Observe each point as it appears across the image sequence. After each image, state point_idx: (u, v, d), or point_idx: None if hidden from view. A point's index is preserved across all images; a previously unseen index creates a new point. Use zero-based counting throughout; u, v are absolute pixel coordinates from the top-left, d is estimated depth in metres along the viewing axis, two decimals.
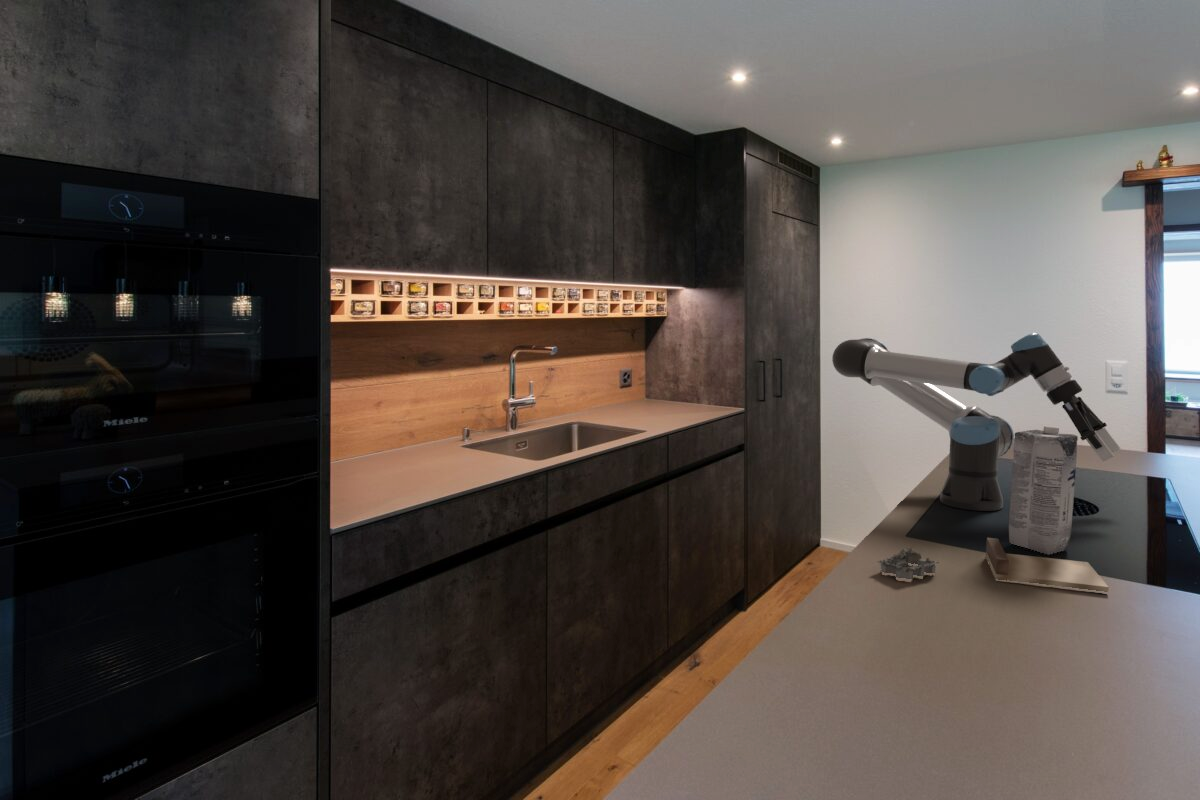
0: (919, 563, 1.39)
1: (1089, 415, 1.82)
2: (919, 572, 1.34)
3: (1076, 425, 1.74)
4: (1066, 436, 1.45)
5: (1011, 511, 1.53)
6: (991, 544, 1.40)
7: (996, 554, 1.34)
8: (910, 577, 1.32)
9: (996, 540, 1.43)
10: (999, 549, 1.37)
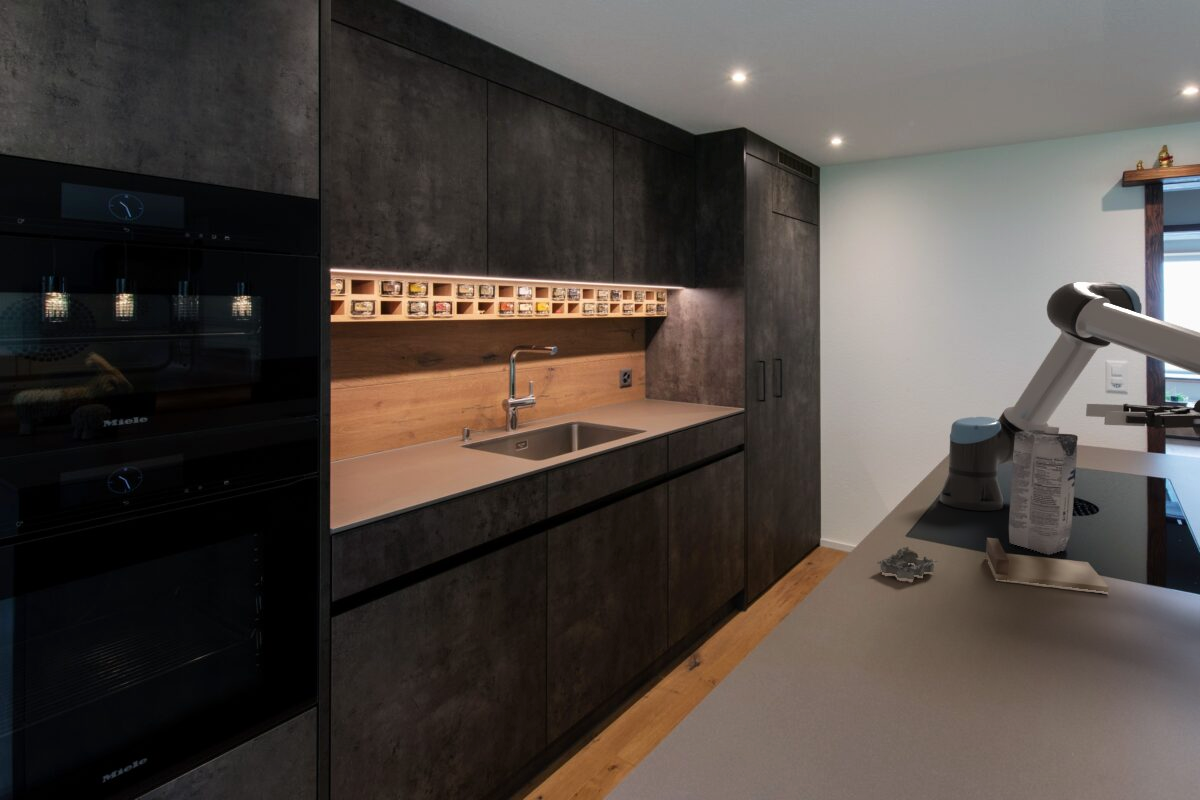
0: (916, 562, 1.39)
1: None
2: (918, 572, 1.34)
3: (1174, 417, 1.33)
4: (1066, 436, 1.45)
5: (1011, 511, 1.53)
6: (991, 544, 1.40)
7: (996, 554, 1.34)
8: (911, 577, 1.32)
9: (996, 540, 1.43)
10: (999, 549, 1.37)
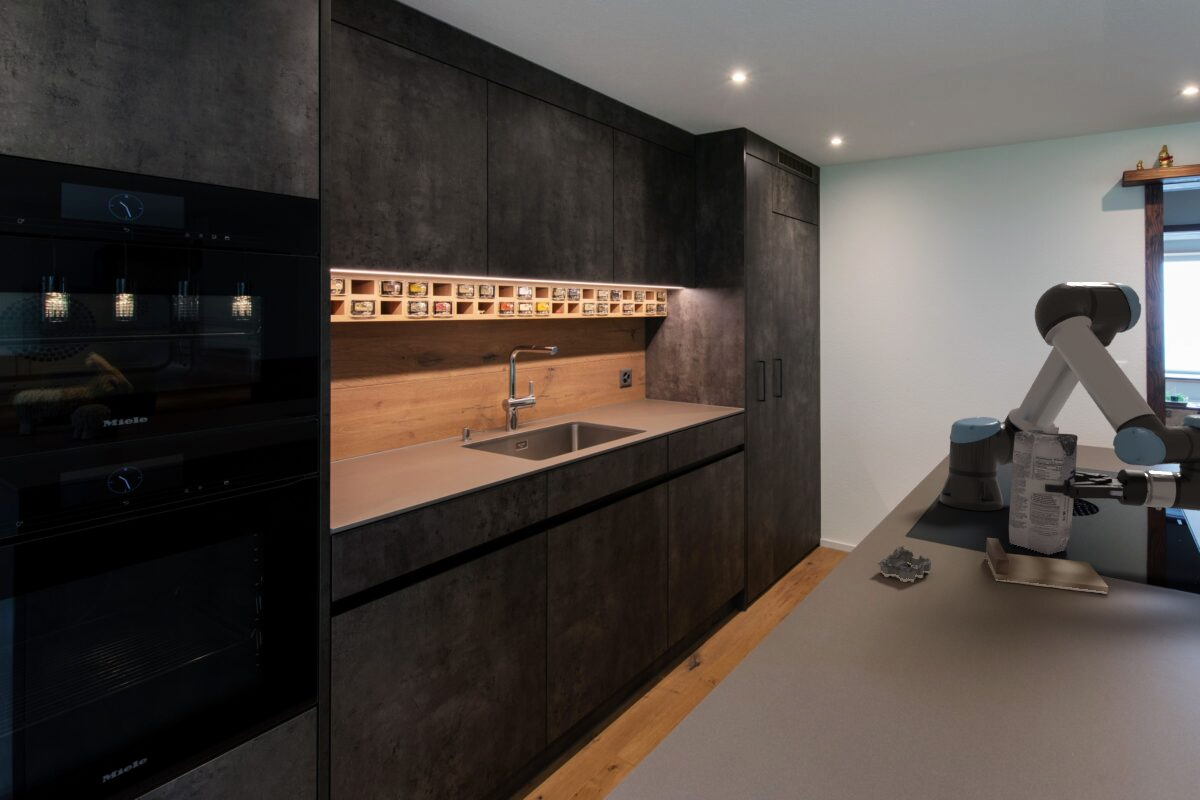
0: (913, 561, 1.40)
1: None
2: (919, 571, 1.35)
3: (1089, 488, 1.40)
4: (1066, 436, 1.45)
5: (1011, 511, 1.53)
6: (991, 544, 1.40)
7: (996, 554, 1.34)
8: (914, 577, 1.32)
9: (996, 540, 1.43)
10: (999, 549, 1.37)
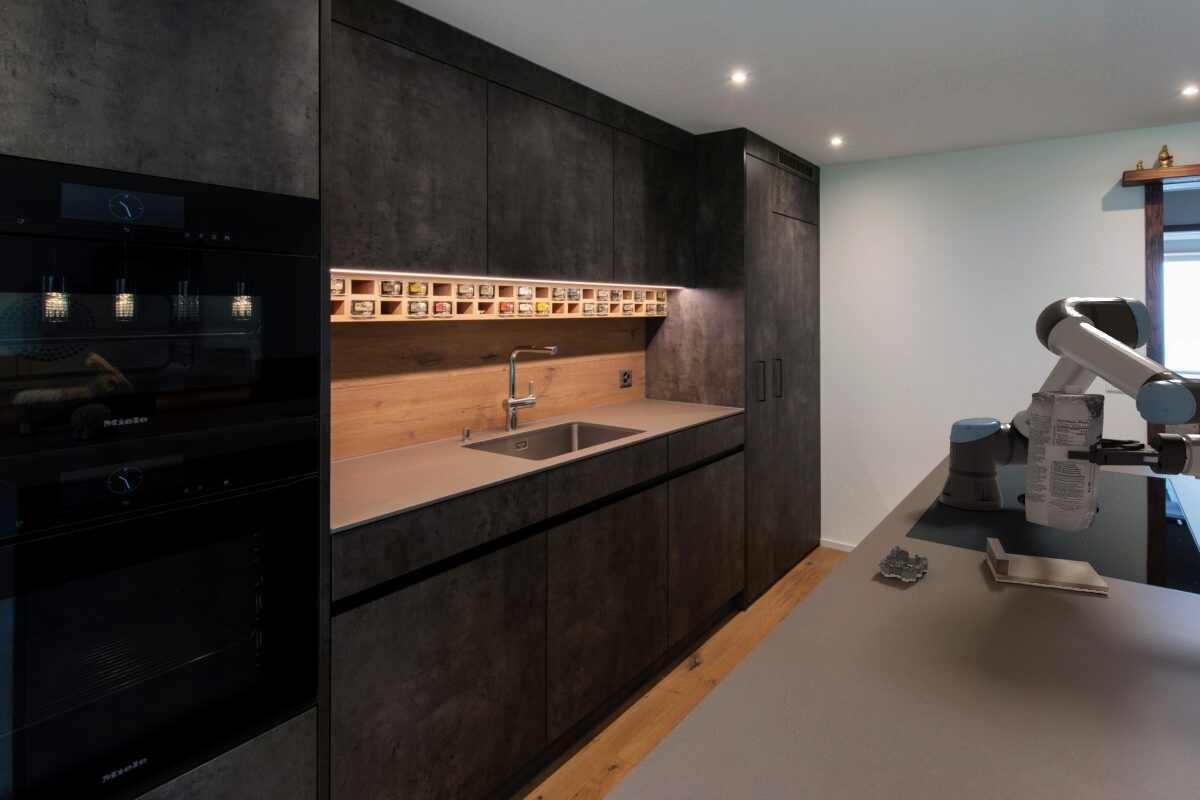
0: (909, 560, 1.40)
1: None
2: (919, 570, 1.35)
3: (1119, 454, 1.22)
4: (1092, 395, 1.27)
5: (1028, 483, 1.35)
6: (991, 544, 1.40)
7: (996, 554, 1.34)
8: (915, 577, 1.32)
9: (996, 540, 1.43)
10: (999, 549, 1.37)
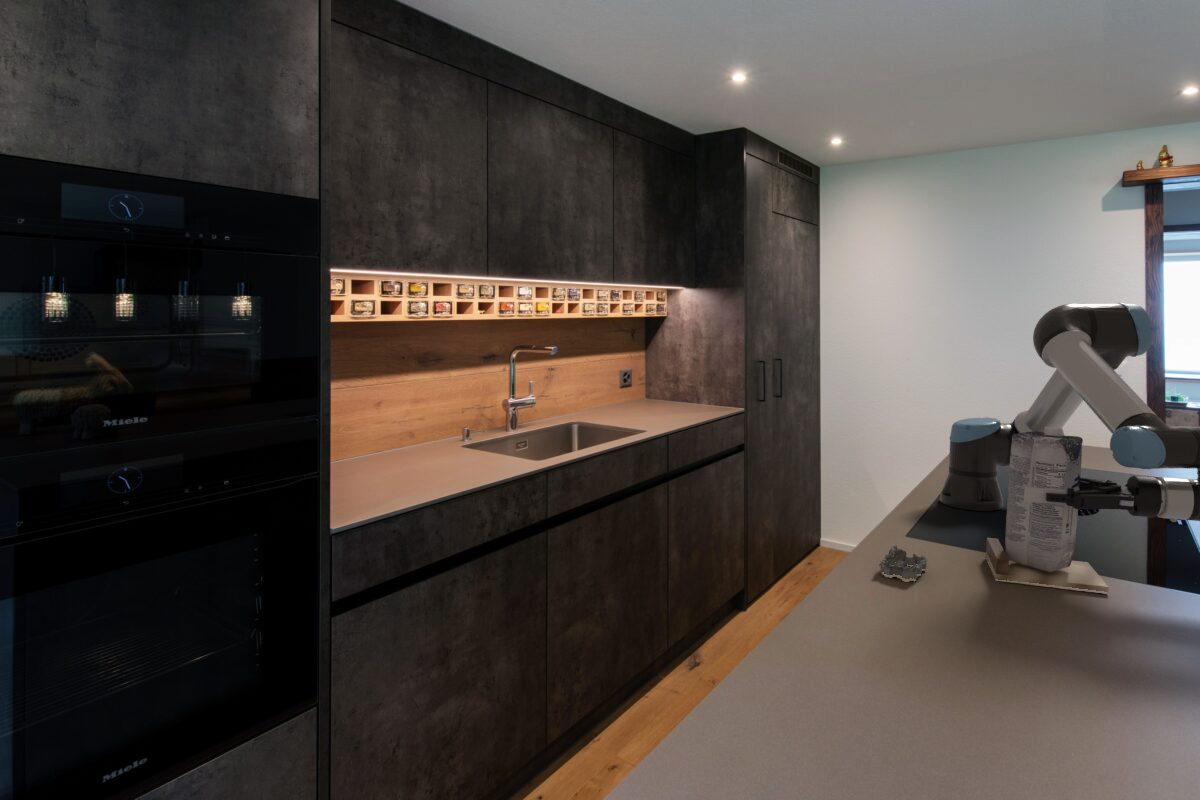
0: (907, 560, 1.41)
1: None
2: (918, 570, 1.35)
3: (1095, 497, 1.24)
4: (1070, 438, 1.29)
5: (1008, 522, 1.37)
6: (991, 544, 1.40)
7: (996, 554, 1.34)
8: (916, 576, 1.33)
9: (996, 540, 1.43)
10: (999, 549, 1.37)
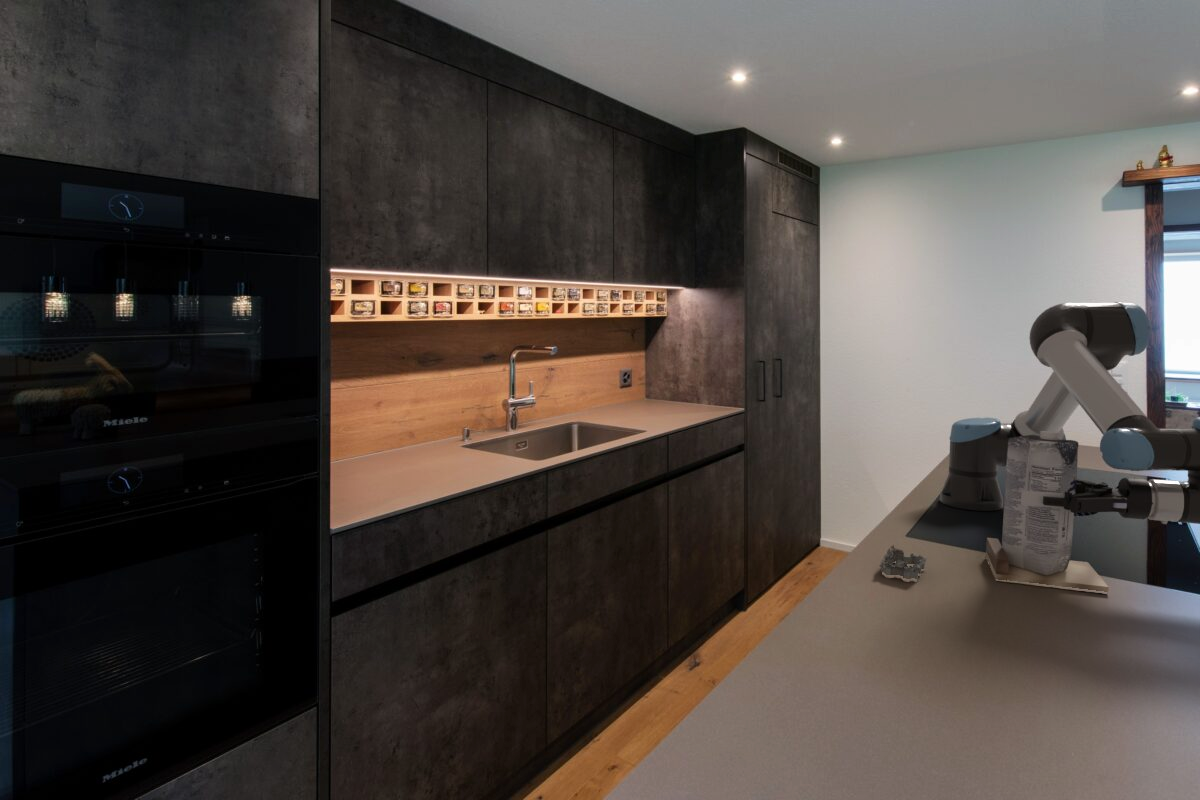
0: (905, 560, 1.41)
1: (1076, 493, 1.35)
2: (918, 570, 1.35)
3: (1092, 501, 1.24)
4: (1065, 442, 1.29)
5: (1004, 526, 1.37)
6: (991, 544, 1.40)
7: (996, 554, 1.34)
8: (917, 576, 1.33)
9: (996, 540, 1.43)
10: (999, 549, 1.37)
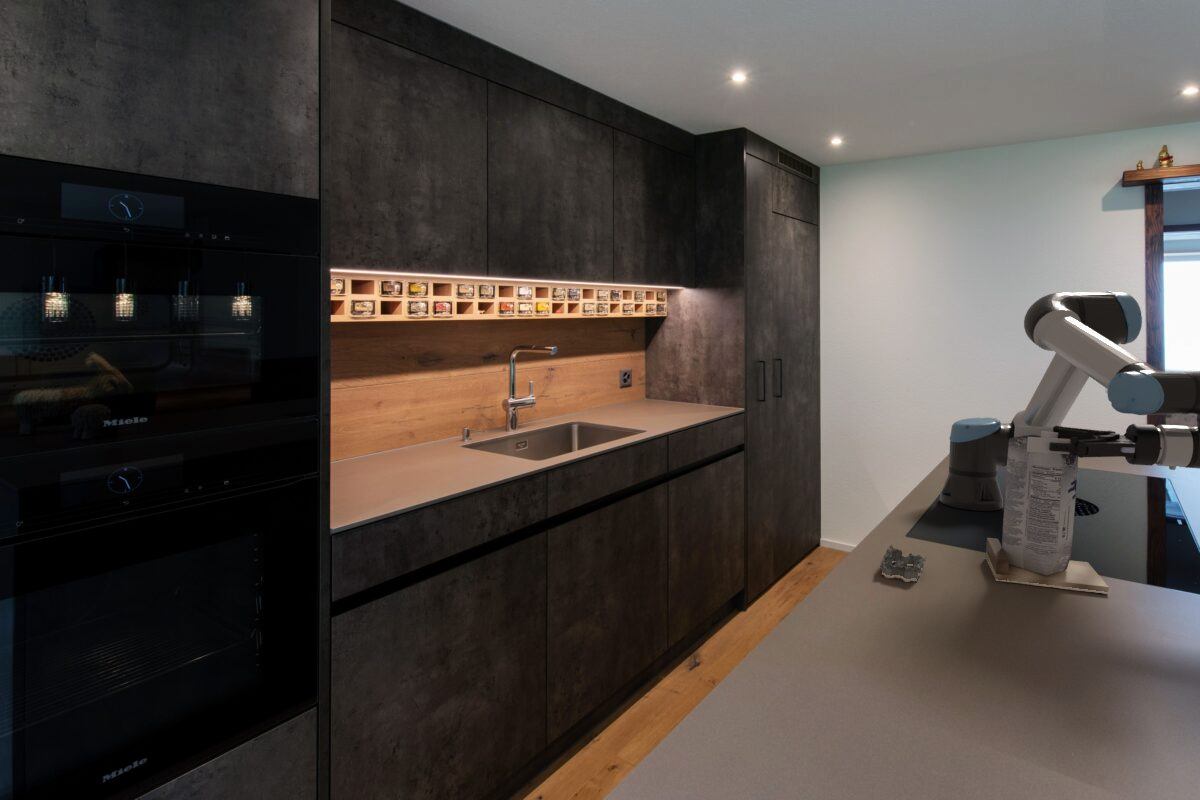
0: (904, 560, 1.41)
1: None
2: (918, 569, 1.35)
3: (1099, 445, 1.22)
4: None
5: (1005, 526, 1.37)
6: (991, 544, 1.40)
7: (996, 554, 1.34)
8: (917, 576, 1.33)
9: (996, 540, 1.43)
10: (999, 549, 1.37)
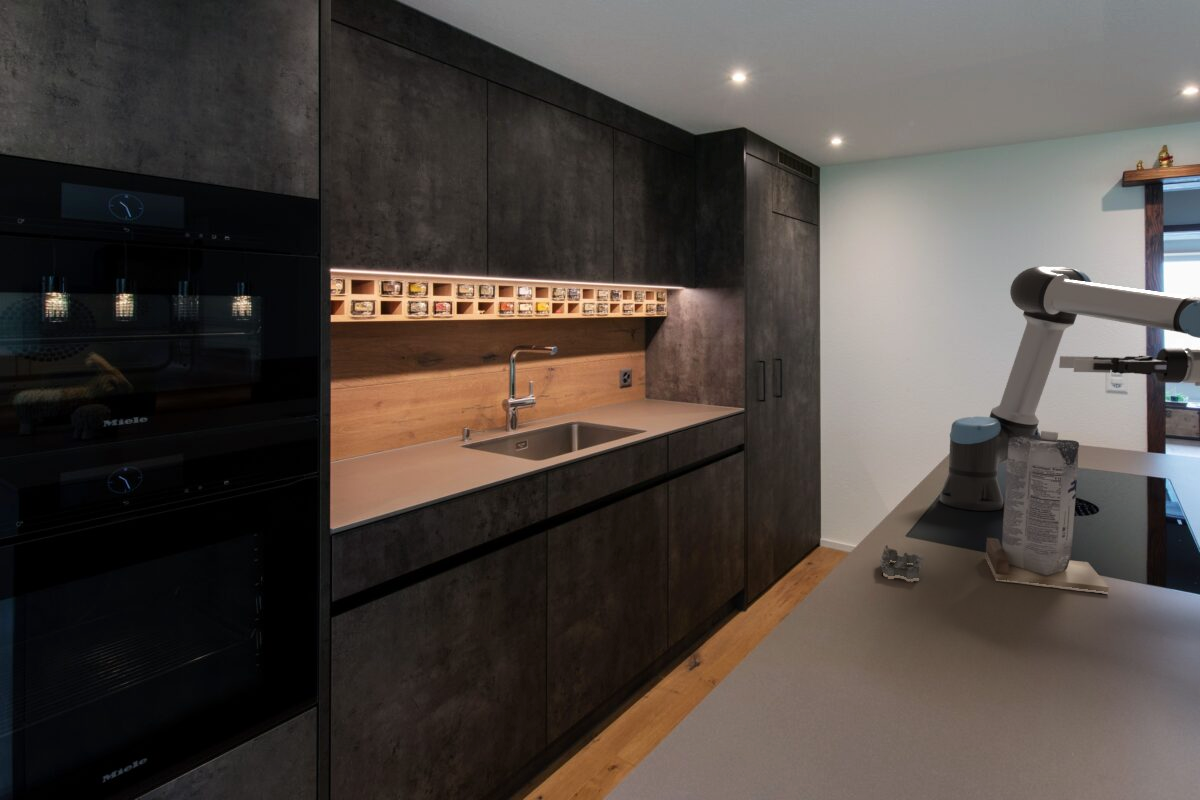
0: (900, 559, 1.41)
1: None
2: None
3: (1136, 363, 1.45)
4: (1066, 442, 1.29)
5: (1005, 526, 1.37)
6: (991, 544, 1.40)
7: (996, 554, 1.34)
8: None
9: (996, 540, 1.43)
10: (999, 549, 1.37)
